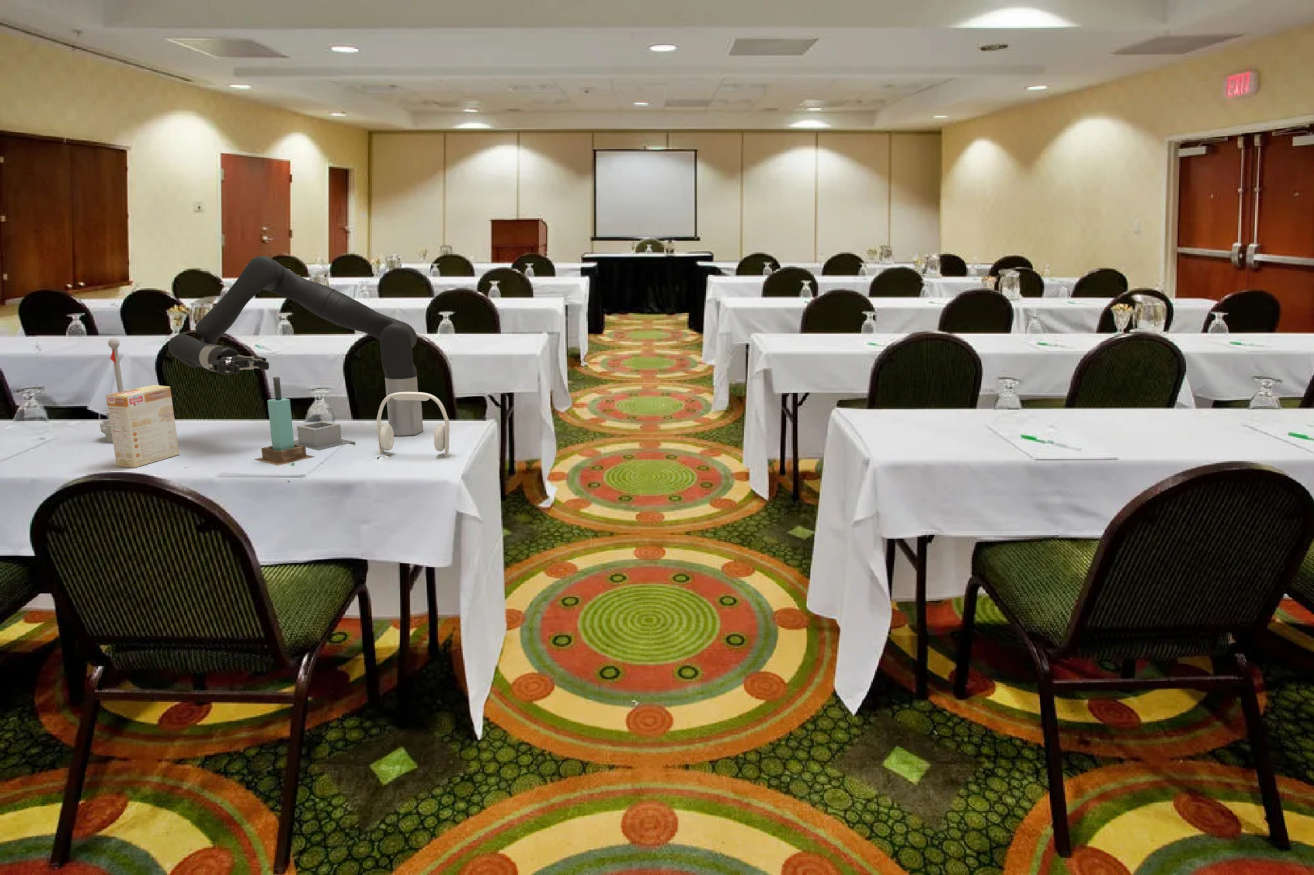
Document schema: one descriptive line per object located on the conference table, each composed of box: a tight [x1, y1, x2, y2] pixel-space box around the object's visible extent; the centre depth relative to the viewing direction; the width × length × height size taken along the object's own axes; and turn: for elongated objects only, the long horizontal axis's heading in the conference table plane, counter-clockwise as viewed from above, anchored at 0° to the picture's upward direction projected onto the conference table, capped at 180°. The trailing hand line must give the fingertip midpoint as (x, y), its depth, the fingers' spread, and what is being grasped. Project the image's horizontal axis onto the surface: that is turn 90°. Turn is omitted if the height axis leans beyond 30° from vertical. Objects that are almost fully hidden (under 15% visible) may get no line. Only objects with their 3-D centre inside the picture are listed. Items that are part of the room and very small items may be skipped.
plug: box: [267, 376, 295, 451], centre depth 255 cm, size 4×4×22 cm
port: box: [294, 420, 356, 451], centre depth 275 cm, size 12×16×6 cm
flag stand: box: [99, 338, 124, 443], centre depth 283 cm, size 13×13×30 cm
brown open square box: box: [254, 444, 315, 466], centre depth 258 cm, size 11×11×4 cm
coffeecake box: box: [105, 384, 180, 469], centre depth 258 cm, size 15×7×20 cm, turn 159°
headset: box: [375, 391, 450, 459], centre depth 261 cm, size 20×7×18 cm, turn 86°
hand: (253, 367), depth 258 cm, fingers open, 8 cm apart
